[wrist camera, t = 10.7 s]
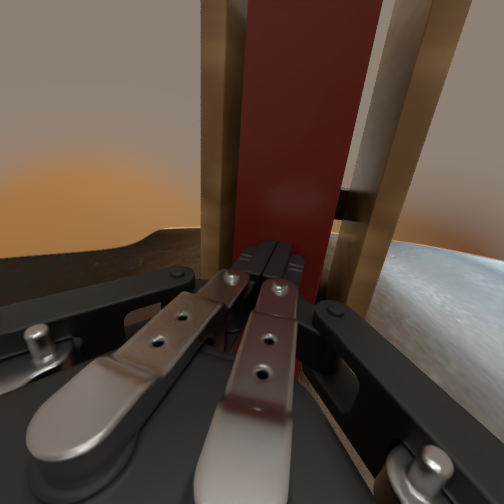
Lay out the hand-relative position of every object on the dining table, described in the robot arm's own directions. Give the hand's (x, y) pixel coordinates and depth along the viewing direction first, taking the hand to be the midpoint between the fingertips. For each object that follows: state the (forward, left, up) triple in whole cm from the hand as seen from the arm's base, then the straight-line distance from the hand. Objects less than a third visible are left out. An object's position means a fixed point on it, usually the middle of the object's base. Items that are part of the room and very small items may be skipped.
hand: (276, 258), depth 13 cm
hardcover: (-2, -7, -9) cm, 12 cm away
